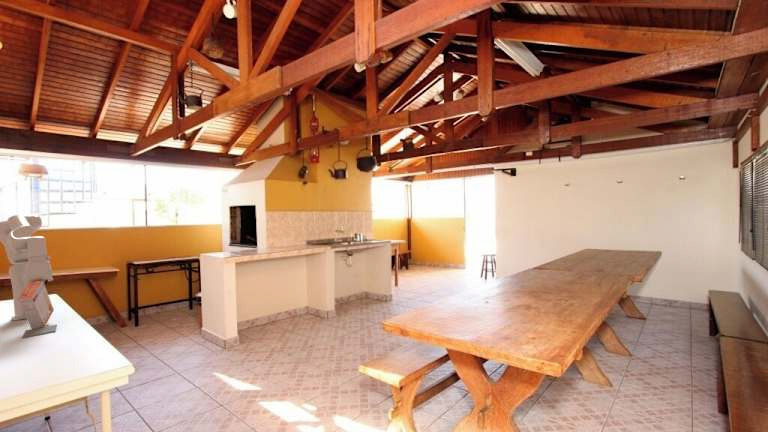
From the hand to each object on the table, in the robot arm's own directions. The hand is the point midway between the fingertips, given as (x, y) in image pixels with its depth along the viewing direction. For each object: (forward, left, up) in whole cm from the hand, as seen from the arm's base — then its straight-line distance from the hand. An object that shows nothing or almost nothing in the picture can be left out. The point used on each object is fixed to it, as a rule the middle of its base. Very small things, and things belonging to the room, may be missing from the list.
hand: (41, 292), depth 200 cm
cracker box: (+2, 0, -15) cm, 15 cm away
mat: (+16, 0, -17) cm, 24 cm away
